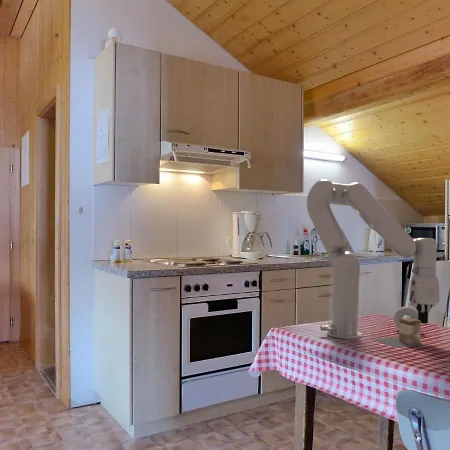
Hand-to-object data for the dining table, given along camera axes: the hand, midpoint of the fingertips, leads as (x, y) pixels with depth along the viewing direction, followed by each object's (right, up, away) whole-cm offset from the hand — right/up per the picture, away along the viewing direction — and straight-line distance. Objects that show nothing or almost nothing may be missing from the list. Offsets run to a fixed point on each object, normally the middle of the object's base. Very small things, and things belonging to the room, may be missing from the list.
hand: (422, 322), depth 163 cm
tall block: (-6, -6, -2) cm, 9 cm away
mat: (-10, -7, -2) cm, 12 cm away
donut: (+1, -7, +16) cm, 18 cm away
